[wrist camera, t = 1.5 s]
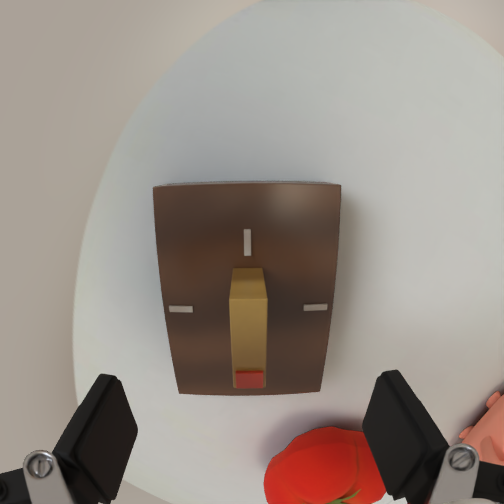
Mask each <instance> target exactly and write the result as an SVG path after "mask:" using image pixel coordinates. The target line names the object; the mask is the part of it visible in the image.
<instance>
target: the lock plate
mask: <svg viewBox="0 0 504 504" xmlns="http://www.w3.org/2000/svg"><path fill="white" fill-rule="evenodd" d="M153 202H154V218H155V232H156V244H157V255H158V265H159V274H160V283H161V291H162V298H163V306H164V313H165V320H166V326H167V332H168V339H169V344H170V350H171V356H172V361H173V366H174V372H175V377H176V382H177V386H178V391H179V394H195V395H225V396H249V395H280V394H297V393H309V392H319V391H320V389H321V383H322V377H323V371H324V365H325V359H326V352H327V346H328V339H329V331H330V324H331V316H332V307H333V298H334V289H335V279H336V268H337V255H338V241H339V225H340V203H341V185H339V184H333V183H328V182H304V181H223V182H193V183H173V184H164V185H159V186H155V187H153ZM233 268H262V269H263V274H264V280H265V286H266V292H267V298H268V310H267V358H266V387H263V388H234V387H233V370H232V351H231V331H230V309H229V297H230V289H231V281H232V273H233Z"/></svg>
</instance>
